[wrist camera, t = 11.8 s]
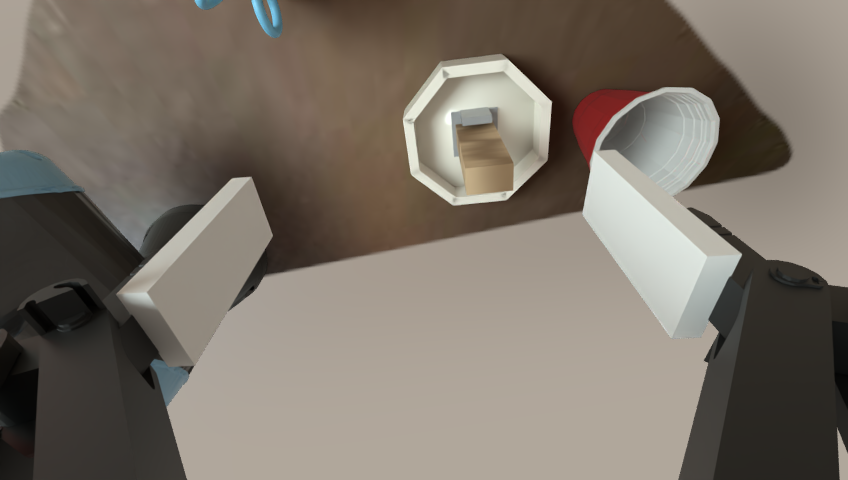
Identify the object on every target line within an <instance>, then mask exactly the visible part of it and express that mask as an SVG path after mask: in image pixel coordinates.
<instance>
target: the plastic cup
mask: <svg viewBox="0 0 848 480" xmlns="http://www.w3.org/2000/svg"><path fill="white" fill-rule="evenodd" d="M719 122H720V118H719V116H718V114H717V111H716V109H715V107H714V105H713V102H712V100H711V99H710V98H708V97H707V96H705V95H703V94H702V93H700V92H698V91H697V90H695V89H693V88H675V87H665V88H661V89H659V90H656V91H653V92H642V91H632V90H615V89H602V90H599V91H596V92H593V93H590V94H589V95H588V96H587V97H585V98H584V99H583V100H582V101H581V102H580V103H579V105H578V106H577V108H576V109H575V112H574V116H573V119H572V124H573V130H574V134H575V136H576V138H577V142H578V145H579V147H580V149H581V151H582V153H583V155H584V157H585V159H586V161H587V163H588V167H589V169H590V171H591V166H592V160H593V155H594V151H603V150H616V151H617V152H618V153H620V154H621V155H622V156H623V157H624V158H626V159H627V160H628V161H629V162H631V163H632V164H633V165H634V166H635V167H637V168H638V169H639V170H640V171H642V172H643V173H644V174H645V175H646V176H648V177H649V178H650V179H651V180H652V181H654V182H655V183H656V184H657V185H659V186H660V187H661V188H662V189H663V190H665V191H666V192H667V193H668V194H669V195H671V196H672V197H673V196H675V195H676V194H678V193H679V192H681V191H682V190H684V189H685V188H687V187H688V186H689V185H690V184H691V183H692V182H693V181H694V179H695V178H696V177H697V176H698V175H699V174H700V173H701V172H702V170H703V169H704V168H705V167H706V166H707V164H708V162H709V160H710V158H711V155H712V153H713V151H714V149H715V147H716V145H717V143H718V133H719Z"/></svg>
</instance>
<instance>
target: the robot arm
mask: <svg viewBox="0 0 848 480" xmlns="http://www.w3.org/2000/svg"><path fill="white" fill-rule="evenodd" d="M84 192H85V190H84V189H83V188H82V187H80V186H77V185H76V184H75V183H74V182H73V181H71V180H70V179H69V178H68V177H67V176H66V175H65V174H64V173H63V172H62V171H61V170H60V169H59V168H58V167H57V166H56V165H55V164H54V163H53V162H52V161H51V160H50V159H48V158H47V157H45V156H43V155H41V154H39V153H36V152H33V151H28V150H11V151H5V152H0V480H187V479H186V475H185V471H184V468H183V464H182V461H181V457H180V454H179V451H178V447H177V443H176V440H175V436H174V433H173V429H172V426H171V422H170V419H169V415H168V412H167V408H166V407H167V406H168V405H169V403H170V402H171V401H172V399H173V398H174V396H175V395H176V394H177V392H178V391H179V389H180V388H181V387H182V385H184V384H185V383H186V382H187V380H188V378H189V374H190V372H191V371H192V369H193V367H194V366H195V365H196V363H197V361H198V359H199V358H200V356H201V355H202V353H203V351H204V350H205V348H206V346H207V345H208V343H209V342H210V340H211V338H212V337H213V335H214V333H215V332H216V329H217V328H218V327H219V325H220V323H221V321H222V320H223V318H224V317H225V315H226V313H227V312H228V311H229V310H231V309H232V308H233V307H235V306H236V305H237V304H239V303H240V302H241V301H242V300H243V299H245V298H246V297H247V296H249V295H250V294H251V293H253V292H254V291H255V289H256V288H257V287H258V285H259V284H260V282H261V280H262V279H263V277H264V275H265V273H266V269H267V256H266V252H265V248H266V247H267V245H268V244H269V242H270V240H271V239H272V237H273V234H272V232H271V229H270V226H269V223H268V221H267V218H266V215H265V212H264V210H263V207H262V204H261V202H260V199H259V196H258V193H257V191H256V188H255V185H254V182H253V180H252V177H243V178H232V179H231V180H230V181H229V182H228V183H227V184H226V185H225V186H224V187H223V188H222V189H221V190H220V191H219V192H218V193H217V194H216V195H215V196H214V197H213V198H212V199H211V200H210V201H209V202H208V203H207V204H206V205H205V206H201V205H184V206H179V207H176V208H173V209H170V210H169V211H167V212H165V213H164V214H163V215H162V216H160V217H159V218H158V219H157V220H156V221H155V222H154V223H153V224H152V225H151V226H150V227H149V229H148V230H147V232H146V234H145V237H144V240H143V244H142V246H141V248H140V250H139V252H138V251H137V250H136V249H135V247H134V246H133V245H132V244H131V243H130V242H129V241H128V240H127V239H126V238H125V237H124V236H123V235H122V233H121V232H120V231H119V230H118V229H117V228H116V227H115V226H114V225H113V224H112V222H111V221H110V220H109V219H108V218H107V217H106V216H105V215H104V214H103V213H102V212H101V210H100V209H99V208H98V207H97V206H96V205H95V204H94V203H93V202H92V201H91V199H90V198H89V197H88V196H87V195H86V194H85V193H84ZM582 215H583V216H584V218H585V219H586V220H587V222H588V223H589V225H590V226H591V227H592V229H593V230H594V232H595V233H596V234H597V236H598V237H599V239H600V240H601V241H602V243H603V244H604V246H605V247H606V248H607V250H608V251H609V253H610V254H611V255H612V257H613V258H614V259H615V261H616V262H617V264H618V265H619V266H620V268H621V269H622V271H623V272H624V273H625V275H626V276H627V278H628V279H629V280H630V282H631V283H632V285H633V286H634V287H635V289H636V290H637V291H638V293H639V294H640V296H641V297H642V299H643V300H644V301H645V303H646V304H647V306H648V307H649V308H650V310H651V311H652V312H653V314H654V315H655V316H656V318H657V319H658V321H659V322H660V324H661V325H662V326H663V328H664V329H665V331H666V332H667V333H668V335H669V336H670V338H671V339H680V338H697V337H701V336H702V334H703V332H704V330H705V328H706V326H707V324H708V322H709V321H710V322H711V323H712V324H713V326H714V327H715V328H716V329H717V330H718V331H719V333H718V335H717V337H716V339H715V341H714V343H713V344H712V346H711V349H710V350H709V352H708V354H707V356H706V358H705V359H704V361H705V362H708V367H707V371H706V375H705V378H704V379H705V380H704V382H703V386H702V390H701V394H700V398H699V402H698V406H697V410H696V413H695V417H694V421H693V425H692V429H691V433H690V437H689V441H688V445H687V449H686V452H685V456H684V460H683V464H682V468H681V472H680V476H679V480H840V479H839V458H838V438H837V428H838V430H839V433H840V435H841V437H842V440H843V442H844V445H845V447H846V450H847V452H848V288H847V287H840V286H832V285H828V283H827V281H826V280H824V279H823V278H822V277H821V276H820V275H818V274H817V273H815V272H813V271H811V270H809V269H807V268H805V267H802V266H799V265H796V264H793V263H789V262H784V261H779V260H765V259H764V258H763V257H762V256H760V255H759V254H758V253H757V252H755V251H754V250H753V249H751V248H750V247H749V246H747V245H746V244H745V243H744V242H742V241H741V240H740V239H738V238H737V237H736V236H735V235H732V233H731V232H730V231H728V230H727V229H726V228H725V227H722V225H721V224H720V223H718V222H717V221H716V220H714V219H713V218H712V217H711V216H709V215H707V214H705V213H703V212H700V211H698V210H696V209H694V208H685V207H684V206H683V205H682V204H680V203H679V202H678V201H677V200H675V199H674V198H673V197H672V196H671V195H669V194H668V193H667V192H666V191H665V190H663V189H662V188H661V187H660V186H659V185H657V184H656V183H655V182H654V181H652V180H651V179H650V178H649V177H648V176H646V175H645V174H644V173H643V172H642V171H640V170H639V169H638V168H637V167H635V166H634V165H633V164H632V163H631V162H629V161H628V160H627V159H626V158H624V157H623V156H622V155H621V154H620V153H618V152H617V151H616V150H603V151H594V155H593V160H592V166H591V171H590V176H589V182H588V187H587V192H586V198H585V203H584V208H583V214H582Z"/></svg>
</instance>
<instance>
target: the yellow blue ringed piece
mask: <svg viewBox="0 0 848 480" xmlns="http://www.w3.org/2000/svg"><path fill="white" fill-rule="evenodd" d="M222 1H223V0H195V2H196V4H197V6H198V7H199V8H201V9H204V10H208V9H211V8H213V7H215V6H216V5H218V4H219V3H220V2H222ZM267 2H268V4H269V7H270V10H271V14H272V20H273V25H272V24H271V22H270V21H269V19H268V16H267V14H266V11H265V9H264V5H263V1H262V0H252V4H253V8H254V11H255V13H256V16H257V18H258V20H259V22H260V24H261V26H262V28H263V29H264V31H265V32H266V33H267V34H268V35H269V36H271V37H273V38H277V37H279V36H280V35H281V33H282V17H281V12H280V8H279V5H278V2H277V0H267Z"/></svg>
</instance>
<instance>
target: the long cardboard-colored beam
mask: <svg viewBox="0 0 848 480" xmlns="http://www.w3.org/2000/svg"><path fill="white" fill-rule="evenodd" d="M456 139H457V149H458V154H459V159H460V164H461V169H462V174H463V179H464V184H465V189H466V194H467V195H475V194H485V193H495V192H505V191H513V181H514V163H513V161H512V159H511V157H510V155H509V153H508V151H507V149H506V147H505V145H504V143H503V141H502V139H501V137H500V135H499V133H498V131H497V129H496V127H495V125H494V123H493V121H492V123H486V124H477V125H468V126H462V124H456Z"/></svg>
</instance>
